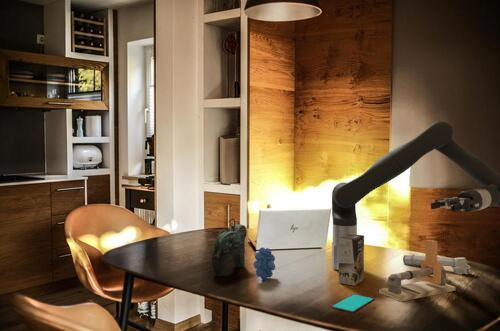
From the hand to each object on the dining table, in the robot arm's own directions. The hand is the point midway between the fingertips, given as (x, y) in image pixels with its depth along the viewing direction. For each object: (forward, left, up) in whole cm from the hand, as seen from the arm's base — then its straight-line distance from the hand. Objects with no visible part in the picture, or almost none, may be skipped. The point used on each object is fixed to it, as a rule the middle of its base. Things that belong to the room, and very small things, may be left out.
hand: (441, 207), depth 169 cm
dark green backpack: (-73, +17, -27) cm, 80 cm away
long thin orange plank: (-4, -3, -25) cm, 25 cm away
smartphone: (-32, -19, -28) cm, 46 cm away
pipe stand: (-9, -6, -27) cm, 29 cm away
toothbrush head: (+6, +23, -28) cm, 37 cm away
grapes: (-59, +5, -27) cm, 65 cm away
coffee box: (-29, +5, -27) cm, 40 cm away
